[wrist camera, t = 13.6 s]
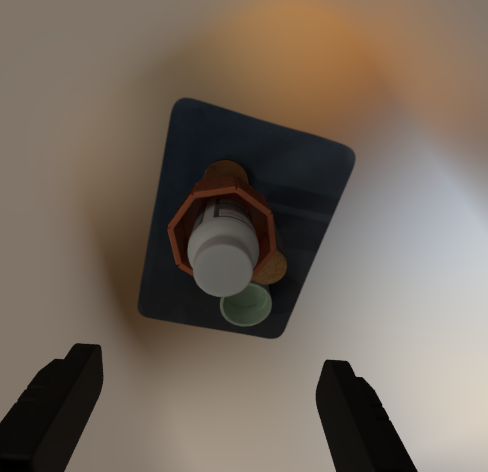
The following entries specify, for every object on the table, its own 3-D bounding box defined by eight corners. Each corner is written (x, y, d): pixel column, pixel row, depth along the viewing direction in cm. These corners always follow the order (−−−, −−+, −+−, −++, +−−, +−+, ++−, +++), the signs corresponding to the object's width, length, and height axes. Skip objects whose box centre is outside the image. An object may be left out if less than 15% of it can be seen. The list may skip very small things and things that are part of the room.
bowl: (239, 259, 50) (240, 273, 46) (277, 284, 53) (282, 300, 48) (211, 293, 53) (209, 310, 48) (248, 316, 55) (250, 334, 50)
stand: (220, 149, 43) (215, 169, 27) (257, 177, 45) (273, 213, 29) (194, 186, 45) (174, 227, 29) (230, 212, 47) (231, 264, 30)
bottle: (269, 203, 47) (286, 239, 33) (277, 235, 49) (296, 282, 35) (234, 212, 47) (236, 252, 33) (243, 244, 49) (249, 293, 35)
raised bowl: (213, 157, 26) (210, 166, 22) (285, 211, 28) (296, 230, 24) (162, 228, 29) (150, 250, 24) (233, 273, 31) (233, 301, 26)
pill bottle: (215, 256, 29) (210, 318, 20) (185, 212, 27) (164, 259, 18) (262, 230, 28) (278, 283, 19) (234, 183, 27) (237, 218, 18)
